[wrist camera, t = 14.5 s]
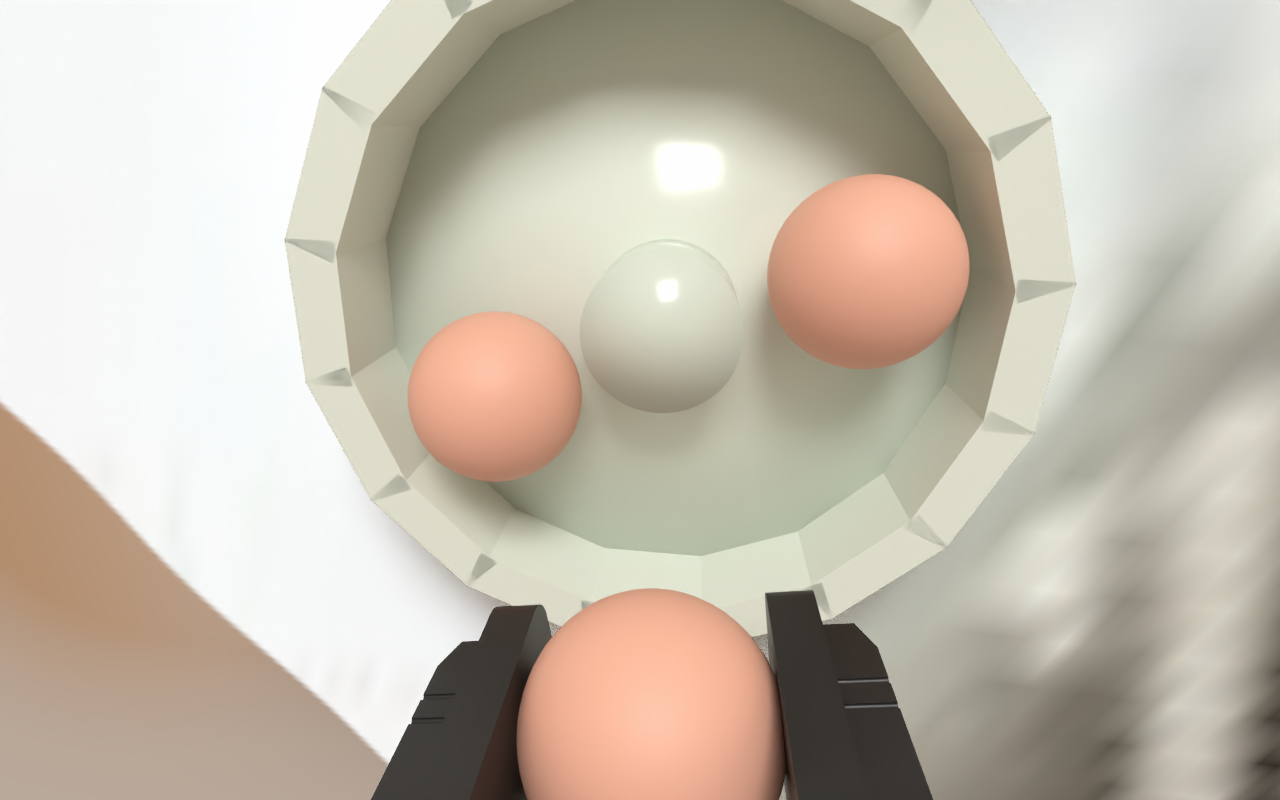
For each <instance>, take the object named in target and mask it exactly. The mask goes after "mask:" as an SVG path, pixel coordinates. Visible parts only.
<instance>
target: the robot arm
mask: <svg viewBox="0 0 1280 800" xmlns="http://www.w3.org/2000/svg"><path fill="white" fill-rule="evenodd" d="M765 607H766V621H767V635H768V648H769V662H770V666H771V668H772V670H773V672H774V674H775V677H776V680H777V686H778V692H779V700H780V707H781V715H782V724H783V734H784V744H785V756H786V774H785V779H784V785H785V792H786V799H787V800H933V798H932V795H931V793H930V790H929V787H928V784H927V782H926V779H925V776H924V773H923V771H922V768H921V765H920V762H919V760H918V757H917V754H916V752H915V749H914V746H913V743H912V741H911V738H910V735H909V732H908V730H907V727H906V724H905V721H904V719H903V716H902V713H901V711H900V709H899V708H898V704H897V700H896V697H895V694H894V691H893V689H892V686H891V683H889V680H888V675H887V672H886V669H885V667H884V664H883V661H882V659H881V656H880V653H879V650H878V648H877V646H876V645H875V644H874V643H873V642H872V641H871V640H870V639H869V638H868V637H867V636H866V635H865V634H864V633H863V632H862V631H861V630H860V629H859V628H858V627H857V626H856V625H855V624H854V623H850V624H829V625H823V623H822V620H821V616H820V612H819V609H818V605H817V601H816V597H815V594H814V591H813V590H804V591H786V592H767V593H765ZM551 638H552V637H551V632H550V627H549V622H548V618H547V613H546V610H545V608H544V607H543V605H541V604H538V605H520V606H502V607H495V608H494V609H493V611H492V612H491V614H490V617H489V619H488V621H487V623H486V626H485V628H484V630H483V632H482V635H481V637H480V639H479V641H468V642H461V643H460V644H459V645H458V646H457V647H456V648H455V649H454V650H453V651H452V652H451V653H450V654H449V655H448V656H447V657H446V658H445V659H444V660H443V661H442V662H441V663H440V664H439V665H438V667H437V669H436V671H435V673H434V675H433V677H432V679H431V681H430V683H429V685H428V687H427V689H426V691H425V693H424V699H423V700H421V701H420V703H419V705H418V707H417V709H416V711H415V713H414V715H413V717H412V723H411V724H409V725H408V727H407V729H406V731H405V733H404V735H403V737H402V739H401V741H400V743H399V745H398V747H397V749H396V751H395V753H394V755H393V757H392V759H391V761H390V763H389V765H388V767H387V769H386V771H385V773H384V775H383V777H382V779H381V781H380V783H379V785H378V787H377V789H376V791H375V793H374V795H373V797H372V799H371V800H527V797H526V794H525V791H524V788H523V784H522V781H521V777H520V772H519V766H518V758H517V743H516V742H517V721H518V714H519V708H520V703H521V699H522V694H523V691H524V688H525V685H526V683H527V680H528V677H529V675H530V672H531V670H532V667H533V666H534V664H535V662H536V660H537V659H538V657H539V655H540V653H541V652H542V650H543V649H544V647H545V645H546V644H547V643H548V642H549V640H550V639H551Z"/></svg>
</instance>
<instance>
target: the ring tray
mask: <svg viewBox="0 0 1280 800" xmlns="http://www.w3.org/2000/svg"><path fill="white" fill-rule="evenodd" d="M1051 119H1052V118H1051V115H1049V114H1048V112H1047V111H1046V109H1045V108H1044V106H1043V105H1042V103H1041V102H1040V101H1039V99H1038V98H1037V96H1036V95H1035V93H1034V92H1033V90H1032V89H1031V87H1030V86H1029V84H1028V83H1027V82H1026V80H1025V79H1024V77H1023V76H1022V74H1021V73H1020V71H1019V70H1018V68H1017V67H1016V66H1015V64H1014V63H1013V61H1012V60H1011V58H1010V57H1009V55H1008V54H1007V52H1006V51H1005V49H1004V48H1003V47H1002V45H1001V44H1000V42H999V41H998V39H997V38H996V36H995V35H994V33H993V32H992V30H991V29H990V28H989V26H988V25H987V23H986V22H985V20H984V19H983V17H982V16H981V14H980V13H979V11H978V10H977V9H976V7H975V6H974V4H973V3H972V1H971V0H391V1H390V3H389V4H388V5H387V6H386V8H385V9H384V10H383V11H382V13H381V14H380V15H379V17H378V18H377V19H376V20H375V22H374V23H373V24H372V25H371V27H370V28H369V29H368V31H367V32H366V33H365V34H364V36H363V37H362V38H361V40H360V41H359V42H358V43H357V45H356V46H355V47H354V48H353V50H352V51H351V52H350V54H349V55H348V56H347V57H346V59H345V60H344V61H343V62H342V64H341V65H340V66H339V68H338V69H337V70H336V71H335V73H334V74H333V75H332V77H331V78H330V79H329V80H328V82H327V83H326V84H325V85H324V86H323V88H322V92H321V96H320V100H319V104H318V108H317V112H316V116H315V120H314V124H313V128H312V132H311V136H310V140H309V144H308V148H307V153H306V157H305V161H304V165H303V169H302V173H301V177H300V181H299V185H298V189H297V193H296V197H295V201H294V205H293V209H292V213H291V217H290V221H289V225H288V229H287V233H286V237H285V244H286V251H287V258H288V264H289V271H290V278H291V285H292V291H293V298H294V305H295V312H296V318H297V325H298V332H299V339H300V345H301V352H302V359H303V366H304V372H305V379H306V381H305V382H306V384H307V385H308V387H309V389H310V391H311V393H312V394H313V396H314V398H315V400H316V402H317V403H318V405H319V407H320V409H321V411H322V412H323V414H324V416H325V418H326V420H327V421H328V423H329V425H330V427H331V429H332V430H333V432H334V434H335V436H336V438H337V439H338V441H339V443H340V445H341V447H342V448H343V450H344V452H345V454H346V456H347V457H348V459H349V461H350V463H351V465H352V466H353V468H354V470H355V472H356V474H357V475H358V477H359V479H360V481H361V483H362V484H363V486H364V488H365V490H366V492H367V493H368V495H369V497H370V499H371V501H373V502H374V503H375V504H376V505H377V506H378V507H379V508H380V509H382V510H383V511H384V512H385V513H386V514H387V515H388V516H389V517H390V518H392V519H393V520H394V521H395V522H396V523H397V524H398V525H399V526H401V527H402V528H403V529H404V530H405V531H406V532H407V533H408V534H410V535H411V536H412V537H413V538H414V539H415V540H416V541H417V542H419V543H420V544H421V545H422V546H423V547H424V548H425V549H426V550H427V551H429V552H430V553H431V554H432V555H433V556H434V557H435V558H436V559H438V560H439V561H440V562H441V563H442V564H443V565H444V566H445V567H447V568H448V569H449V570H450V571H451V572H452V573H453V574H454V575H455V576H457V577H458V578H459V579H460V580H461V581H462V582H463V583H464V584H466V586H468V587H471V588H473V589H475V590H478V591H480V592H482V593H485V594H487V595H489V596H492V597H494V598H496V599H498V600H501V601H503V602H505V603H508V604H510V605H512V606H520V605H538V604H541V605H543V607H544V608H545V610H546V613H547V618H548V621H549V622H552V623H554V624H556V625H559V626H561V627H562V626H563V625H564V624H565V623H566V622H567V621H568V620H569V619H570V618H571V617H573V616H574V615H576V614H577V613H579V612H580V611H581V610H583V609H584V608H586V607H587V606H589V605H590V604H592V603H594V602H596V601H598V600H600V599H602V598H605V597H608V596H611V595H613V594H617V593H621V592H625V591H629V590H635V589H644V588H659V589H669V590H674V591H679V592H683V593H686V594H689V595H692V596H695V597H698V598H700V599H702V600H704V601H706V602H708V603H711V604H713V605H714V606H716V607H718V608H719V609H721V610H722V611H724V612H725V613H727V614H728V615H729V616H730V617H732V618H733V619H734V620H735V621H736V622H737V623H739V624H740V625H741V626H742V627H743V628H744V629H745V630H746V631H747V632H748V634H749V635H750V636H751V637H754V636H759V635H763V634H767V621H766V607H765V593H767V592H786V591H804V590H813V591H814V594H815V597H816V601H817V605H818V609H819V612H820V616H821V620H822V621H824V620H829V619H833V618H834V617H836V616H837V615H839V614H840V613H842V612H844V611H845V610H847V609H848V608H850V607H852V606H853V605H855V604H856V603H858V602H860V601H861V600H863V599H864V598H866V597H868V596H869V595H871V594H872V593H874V592H876V591H877V590H879V589H881V588H882V587H884V586H885V585H887V584H889V583H890V582H892V581H893V580H895V579H897V578H898V577H900V576H901V575H903V574H905V573H906V572H908V571H909V570H911V569H913V568H914V567H916V566H917V565H919V564H921V563H922V562H924V561H925V560H927V559H929V558H930V557H932V556H933V555H935V554H937V553H938V552H940V551H941V550H943V549H945V548H946V547H947V546H948V545H949V543H950V542H951V541H952V539H953V538H954V537H955V536H956V534H957V533H958V532H959V530H960V529H961V528H962V526H963V525H964V524H965V523H966V521H967V520H968V519H969V517H970V516H971V515H972V514H973V512H974V511H975V510H976V508H977V507H978V506H979V505H980V503H981V502H982V501H983V499H984V498H985V497H986V495H987V494H988V493H989V492H990V490H991V489H992V488H993V486H994V485H995V484H996V483H997V481H998V480H999V479H1000V477H1001V476H1002V475H1003V473H1004V472H1005V471H1006V470H1007V468H1008V467H1009V466H1010V464H1011V463H1012V462H1013V461H1014V459H1015V458H1016V457H1017V455H1018V454H1019V453H1020V451H1021V450H1022V449H1023V448H1024V446H1025V445H1026V444H1027V442H1028V441H1029V440H1030V439H1031V437H1032V436H1033V435H1034V433H1035V429H1036V425H1037V422H1038V418H1039V414H1040V411H1041V407H1042V404H1043V400H1044V397H1045V393H1046V389H1047V386H1048V382H1049V379H1050V375H1051V371H1052V368H1053V364H1054V361H1055V357H1056V353H1057V350H1058V346H1059V343H1060V339H1061V336H1062V332H1063V328H1064V325H1065V321H1066V318H1067V314H1068V310H1069V307H1070V303H1071V300H1072V296H1073V293H1074V289H1075V286H1076V282H1075V275H1074V268H1073V261H1072V255H1071V248H1070V241H1069V235H1068V228H1067V221H1066V215H1065V208H1064V201H1063V195H1062V188H1061V181H1060V175H1059V168H1058V161H1057V155H1056V148H1055V141H1054V135H1053V128H1052V121H1051ZM865 174H884V175H893V176H897V177H901V178H905V179H907V180H910V181H912V182H915V183H917V184H919V185H922V186H923V187H925V188H926V189H928V190H930V191H931V192H933V193H934V194H935V195H936V196H938V197H939V198H940V199H941V200H942V201H943V202H944V203H945V204H946V205H947V206H948V208H949V209H950V210H951V211H952V212H953V214H954V216H955V217H956V219H957V220H958V222H959V223H960V226H961V228H962V230H963V232H964V235H965V238H966V242H967V246H968V253H969V261H970V267H969V280H968V287H967V290H966V293H965V297H964V300H963V302H962V304H961V307H960V309H959V311H958V313H957V314H956V316H955V318H954V319H953V321H952V322H951V324H950V325H949V326H948V328H947V329H946V330H945V331H944V333H943V334H942V335H941V336H940V337H939V338H938V339H937V340H936V341H935V342H933V343H932V344H931V345H930V346H928V347H927V348H926V349H924V350H923V351H921V352H920V353H918V354H917V355H915V356H913V357H911V358H909V359H907V360H905V361H902V362H899V363H897V364H894V365H890V366H886V367H882V368H873V369H851V368H843V367H839V366H835V365H831V364H829V363H826V362H824V361H821V360H819V359H817V358H815V357H813V356H812V355H810V354H808V353H807V352H805V351H804V350H803V349H801V348H800V347H799V346H798V345H797V344H796V343H795V342H794V341H793V340H792V339H791V338H790V337H789V336H788V335H787V333H786V332H785V331H784V329H783V328H782V327H781V325H780V323H779V322H778V320H777V318H776V316H775V314H774V311H773V308H772V306H771V302H770V298H769V293H768V284H767V269H768V262H769V256H770V252H771V249H772V246H773V243H774V241H775V238H776V236H777V234H778V232H779V230H780V228H781V227H782V225H783V224H784V222H785V220H786V219H787V218H788V217H789V215H790V214H791V213H792V212H793V210H794V209H795V208H796V207H797V206H798V205H799V204H800V203H801V202H802V201H803V200H805V199H806V198H807V197H809V196H810V195H811V194H813V193H814V192H816V191H817V190H819V189H821V188H822V187H824V186H826V185H828V184H831V183H833V182H835V181H838V180H841V179H844V178H848V177H852V176H858V175H865ZM493 311H499V312H509V313H513V314H518V315H521V316H524V317H527V318H530V319H532V320H534V321H536V322H538V323H539V324H541V325H542V326H544V327H546V328H547V329H548V330H549V331H550V332H552V333H553V334H554V335H555V336H556V337H557V338H558V339H559V340H560V341H561V342H562V343H563V344H564V346H565V347H566V349H567V350H568V351H569V353H570V355H571V357H572V359H573V361H574V363H575V365H576V367H577V370H578V373H579V377H580V383H581V388H582V404H581V412H580V416H579V419H578V423H577V426H576V428H575V431H574V433H573V435H572V437H571V438H570V440H569V441H568V443H567V445H566V446H565V448H564V449H563V450H562V451H561V452H560V454H559V455H558V456H557V457H555V458H554V459H553V460H552V461H551V462H550V463H549V464H547V465H546V466H544V467H543V468H542V469H540V470H538V471H536V472H534V473H532V474H530V475H527V476H524V477H522V478H518V479H514V480H509V481H501V482H489V481H480V480H475V479H471V478H468V477H465V476H462V475H460V474H458V473H456V472H454V471H452V470H450V469H449V468H447V467H445V466H444V465H442V464H441V463H440V462H439V461H437V460H436V459H435V458H434V457H433V456H432V455H431V454H430V453H429V452H428V451H427V449H426V448H425V447H424V445H423V444H422V442H421V441H420V439H419V438H418V436H417V434H416V432H415V430H414V427H413V424H412V421H411V418H410V414H409V409H408V385H409V379H410V375H411V372H412V368H413V365H414V363H415V361H416V359H417V357H418V355H419V354H420V352H421V350H422V349H423V348H424V346H425V345H426V343H427V342H428V341H429V340H430V339H431V338H432V337H433V336H434V335H435V334H436V333H437V332H439V331H440V330H441V329H442V328H444V327H445V326H447V325H448V324H450V323H452V322H453V321H456V320H458V319H460V318H463V317H465V316H468V315H472V314H475V313H481V312H493Z"/></svg>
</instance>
